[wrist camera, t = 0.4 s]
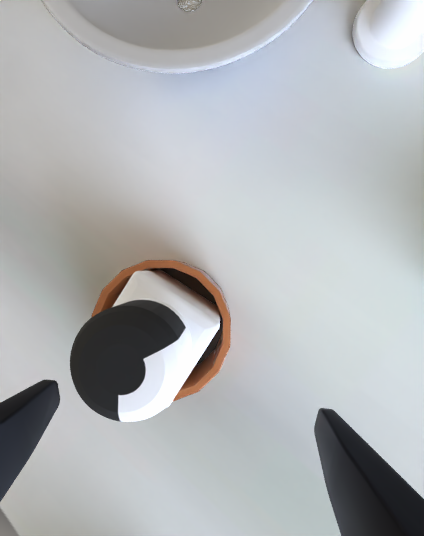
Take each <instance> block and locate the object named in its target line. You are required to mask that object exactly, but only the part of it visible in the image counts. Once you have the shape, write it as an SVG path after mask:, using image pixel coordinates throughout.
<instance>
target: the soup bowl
mask: <svg viewBox="0 0 424 536" xmlns="http://www.w3.org/2000/svg"><path fill="white" fill-rule="evenodd" d="M41 1H42V2H43V4H44V5H45V7H46V8H47V10H48V11H49V12H50V14H51V15H52V16H53V17H54V18H55V20H56V21H57V22H58V23H59V24H60V25H61V26H62V27H63V28H64V29H65V30H66V31H67V32H68V33H69V34H70V35H71V36H72V37H74V38H75V39H76V40H77V41H79V42H80V43H81V44H82V45H84V46H85V47H87V48H88V49H90V50H91V51H93V52H95V53H96V54H98V55H100V56H102V57H104V58H106V59H108V60H110V61H113V62H115V63H118V64H121V65H123V66H127V67H130V68H134V69H138V70H143V71H149V72H155V73H170V74H171V73H190V72H197V71H204V70H208V69H213V68H217V67H220V66H223V65H226V64H229V63H232V62H235V61H237V60H239V59H242V58H244V57H246V56H248V55H250V54H252V53H254V52H255V51H257V50H259V49H261V48H263V47H264V46H266V45H267V44H268V43H270V42H271V41H273V40H274V39H276V38H277V37H278V36H279V35H281V34H282V33H283V32H284V31H285V30H287V29H288V28H289V27H290V26H291V25H292V24H293V23H294V22H295V21H296V20H297V19H298V18H299V17H300V16H301V15H302V14H303V12H304V11H305V10H306V9H307V7H308V6H309V5H310V4H311V2H312V1H313V0H202V3H201V5H200V6H199V7H198V8H197V9H196V10H194V11H190V12H187V11H184V10H182V9H181V8H180V7H179V6H178V0H41Z"/></svg>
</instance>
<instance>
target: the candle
mask: <svg viewBox="0 0 424 536" xmlns="http://www.w3.org/2000/svg"><path fill="white" fill-rule="evenodd" d="M352 35H353V41H354V45H355V47H356V50H357V51H358V53H359V54H360V56H361V57H362V58H363V59H364V60H365V61H367V62H368V63H370V64H372V65H374V66H376V67H379V68H385V69H393V68H399V67H402V66H405V65H407V64H409V63H411V62H412V61H414V60H415V59H416V58H417V57H418V56H419V55H420V54H421V53H422V52H423V51H424V0H367V1H366V2H365V3H364V4H363V5H362V7H361V8H360V10H359V12H358V14H357V16H356V18H355V21H354V24H353V31H352Z"/></svg>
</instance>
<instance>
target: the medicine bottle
mask: <svg viewBox="0 0 424 536" xmlns="http://www.w3.org/2000/svg"><path fill="white" fill-rule="evenodd" d="M219 327H220V311H219V308H218V306H217V305H215V304H214V303H212V302H210V301H209V300H207V299H206V298H204V297H203V296H201V295H200V294H198V293H196V292H195V291H193V290H192V289H190V288H189V287H187V286H186V285H184V284H182V283H181V282H179V281H178V280H176V279H175V278H173V277H172V276H170V275H168V274H167V273H165V272H164V271H161V270H154V271H135V272H134V273H133V275H132V276H131V278H130V280H129V281H128V283H127V284H126V286H125V288H124V289H123V291H122V292H121V294H120V295H119V297H118V299H117V300H116V302H115V303H114V305H113V307H112V308H109V309H106V310H103V311H101V312H100V313H98V314H96V315H95V316H93V317H92V318H91V319H90V320H88V321H87V322H86V323H85V324H84V326H83V327H82V328H81V330H80V331H79V333H78V334H77V336H76V338H75V341H74V343H73V346H72V350H71V356H70V370H71V376H72V379H73V383H74V385H75V388H76V390H77V392H78V394H79V395H80V397H81V398H82V400H83V401H84V402H85V403H86V404H87V405H88V406H89V407H90V408H91V409H92V410H94V411H95V412H97V413H98V414H100V415H102V416H104V417H106V418H109V419H112V420H116V421H122V422H134V421H140V420H144V419H147V418H149V417H152V416H154V415H156V414H157V413H159V412H160V411H162V410H163V409H164V408H167V407H168V406H169V405H170V404H171V403H172V401H173V399H174V398H175V396H176V395H177V393H178V392H179V390H180V388H181V387H182V385H183V384H184V382H185V381H186V379H187V378H188V376H189V374H190V373H191V371H192V370H193V368H194V367H195V365H196V363H197V362H198V360H199V359H200V357H201V356H202V354H203V353H204V351H205V349H206V348H207V346H208V345H209V343H210V342H211V340H212V338H213V337H214V335H215V334H216V332H217V331H218V329H219Z"/></svg>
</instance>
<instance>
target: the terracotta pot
mask: <svg viewBox="0 0 424 536" xmlns="http://www.w3.org/2000/svg"><path fill="white" fill-rule="evenodd" d="M161 268H174V269H177V270H179V271H181V272H184V273H186V274H188V275H191V276H193V277H195V278H197V279H198V280H199V281H200V282H201V283H202V284H203V286H204V287H205V288H206V289H207V290H208V291H209V292H210V293H211V294H212V295H213V296H214V298H215V301H216V303H217V306H218V308H219V311H220V313H221V316H222V318H223V331H222V333H221V335H220V338H219V340H218V342H217V345H216V347H215V349H214V350H213V351H212V352H211V353H210V354H209V355H208V356H207V357H206V358H205V359H204V360H203V361H202V362H201V363H200V364H197V365H195V367H194V368H193V370H192V371H191V373H190V374H189V376H188V378H187V379H186V381H185V382H184V384H183V385H182V387H181V388H180V390H179V392H178V393H177V395H176V396H175V398H174V399H173V401H175V400H178V399H180V398H183V397H186V396H188V395H191V394H193V393H196V392H198V391H200V390H201V389H202V388H203V387H204V386H205V385H206V384H207V383H208V382H209V381H210V380H211V379H212V378H213V377H214V376H216V375H217V374H218V373H219V371H220V369H221V367H222V364H223V362H224V360H225V357H226V355H227V353H228V350H229V348H230V325H231V318H230V312H229V308H228V305H227V303H226V300H225V298H224V295H223V293H222V290H221V288H220V287H219V286H218V284H217V283H216V282H215V281H214V280H213V279H212V278H211V277H210V276H209V275H208V274H207V273H206V272H205V271H203V270H201V269H198V268H196V267H194V266H191V265H189V264H187V263H184V262H180V261H172V260H147V261H144V262H142V263H139V264H137V265H134V266H132V267H129V268H127V269H124V270H122V271H121V272H120V273H119V274H118V275H117V276H116V277H115V278H114V279H113V280H112V281H111V282H110V283H109V284H108V285H107V286H106V287H105V288H104V289H103V290H102V292H101V294H100V297H99V299H98V302H97V304H96V306H95V309H94V311H93V313H92V317H93V316H95V315H96V314H98V313H100V312H101V311H103V310H106V309H109V308H112V307H113V305H114V303H115V302H116V300H117V299H118V297H119V295H120V294H121V292H122V291H123V289H124V288H125V286H126V284H127V283H128V281H129V280H130V278H131V276H132V275H133V273H134V272H135V271H154V270H158V269H161Z"/></svg>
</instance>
